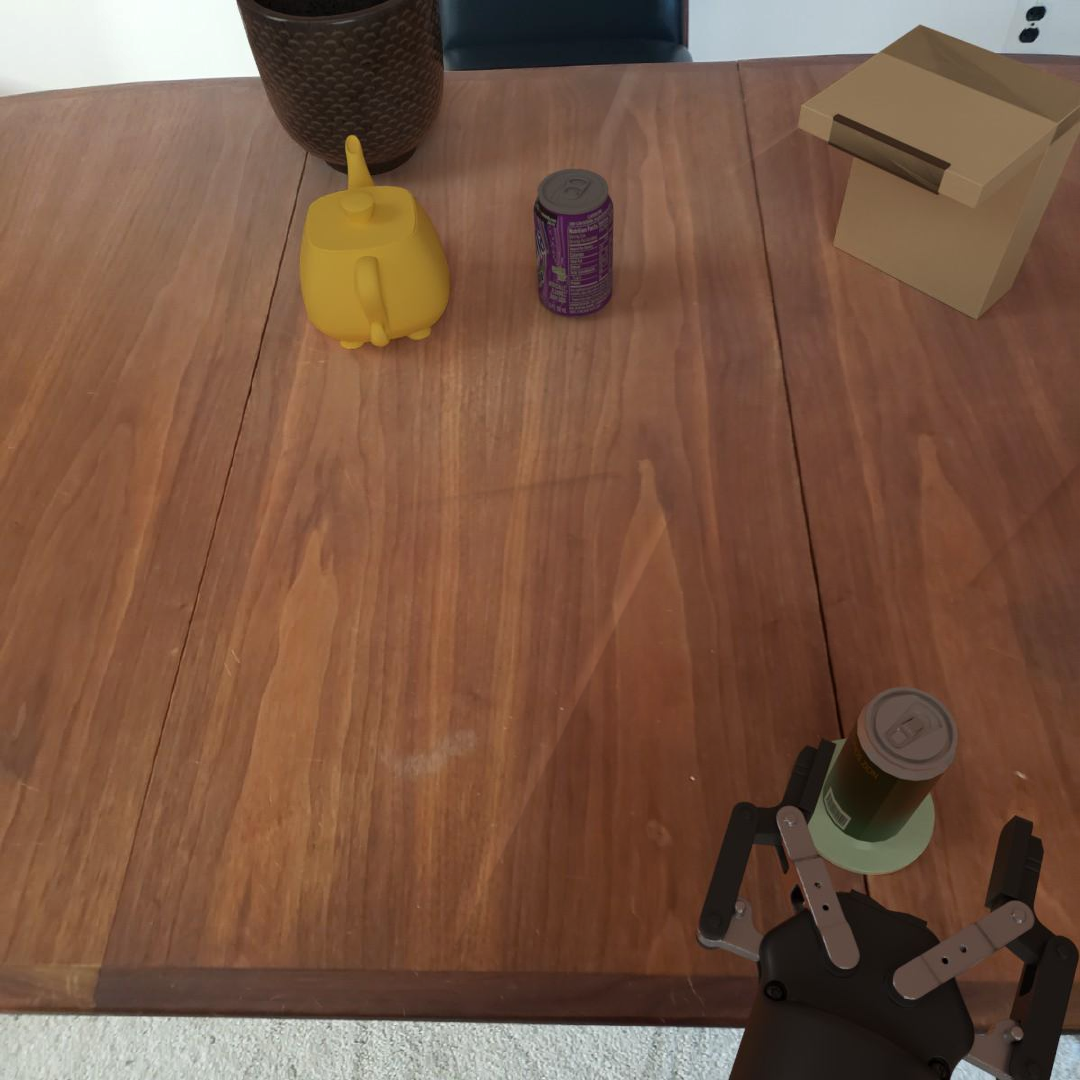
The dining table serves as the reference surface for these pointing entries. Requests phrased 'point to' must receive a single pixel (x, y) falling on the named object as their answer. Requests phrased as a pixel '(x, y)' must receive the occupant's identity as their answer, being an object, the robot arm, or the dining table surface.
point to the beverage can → (574, 242)
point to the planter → (350, 73)
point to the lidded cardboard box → (946, 162)
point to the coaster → (867, 854)
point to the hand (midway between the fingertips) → (918, 784)
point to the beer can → (889, 763)
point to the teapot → (371, 262)
